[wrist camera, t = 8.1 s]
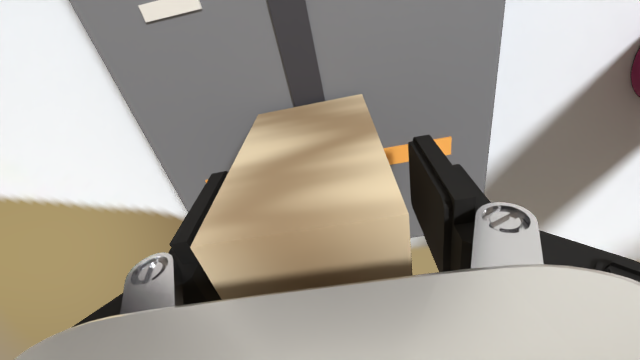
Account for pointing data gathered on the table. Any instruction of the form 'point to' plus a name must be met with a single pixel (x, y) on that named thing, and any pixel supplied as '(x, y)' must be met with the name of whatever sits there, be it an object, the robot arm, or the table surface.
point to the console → (301, 73)
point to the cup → (636, 74)
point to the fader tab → (306, 206)
